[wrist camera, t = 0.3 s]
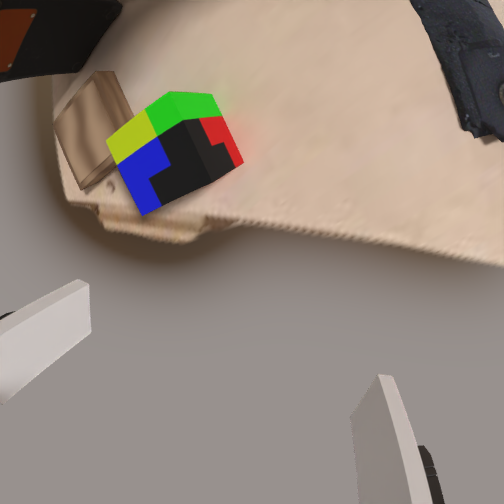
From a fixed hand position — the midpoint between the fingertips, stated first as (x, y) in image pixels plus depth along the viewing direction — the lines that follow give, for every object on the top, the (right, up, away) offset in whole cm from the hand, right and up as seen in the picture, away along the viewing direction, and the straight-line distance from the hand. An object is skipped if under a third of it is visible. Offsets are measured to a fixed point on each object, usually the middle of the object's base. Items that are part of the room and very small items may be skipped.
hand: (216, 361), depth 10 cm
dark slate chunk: (+30, +29, +6) cm, 42 cm away
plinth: (-23, +24, +25) cm, 42 cm away
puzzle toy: (-6, +19, +23) cm, 31 cm away
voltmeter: (-25, +41, +17) cm, 51 cm away
